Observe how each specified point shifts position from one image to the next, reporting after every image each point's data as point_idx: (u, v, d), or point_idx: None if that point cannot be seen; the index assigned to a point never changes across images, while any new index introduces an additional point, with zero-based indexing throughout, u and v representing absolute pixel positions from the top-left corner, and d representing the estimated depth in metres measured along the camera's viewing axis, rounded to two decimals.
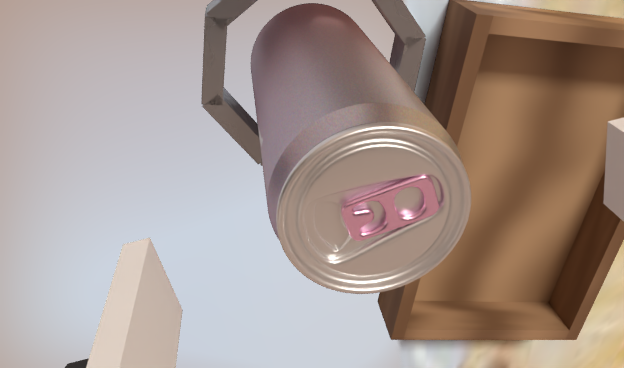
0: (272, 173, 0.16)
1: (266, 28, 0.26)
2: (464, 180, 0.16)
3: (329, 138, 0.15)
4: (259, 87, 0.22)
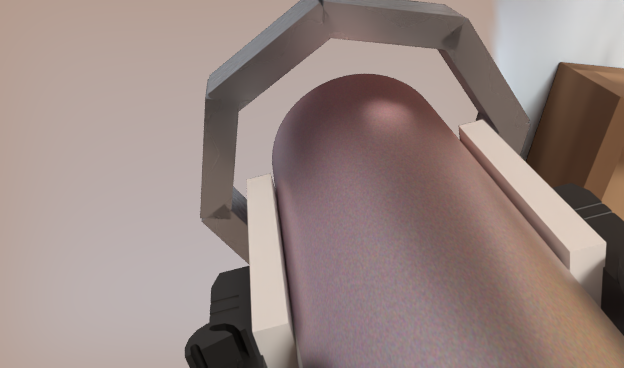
0: None
1: (297, 112, 0.18)
2: None
3: None
4: (291, 233, 0.14)
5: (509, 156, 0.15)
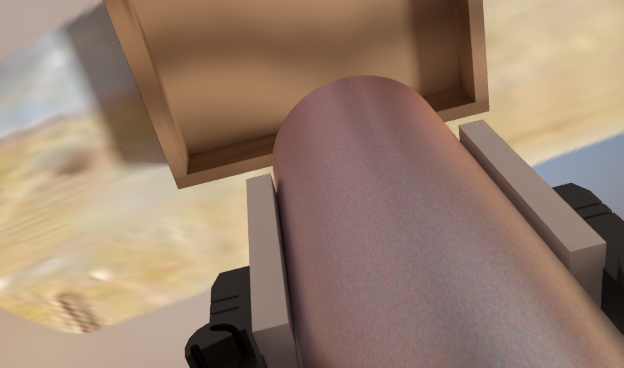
0: None
1: (297, 113, 0.18)
2: None
3: None
4: (292, 234, 0.14)
5: (509, 156, 0.15)
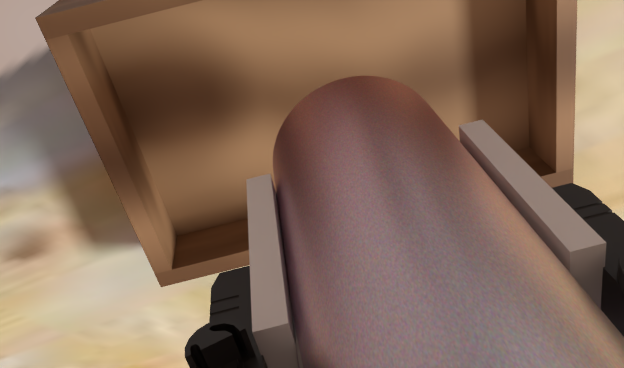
0: None
1: (297, 114, 0.18)
2: None
3: None
4: (292, 235, 0.14)
5: (509, 156, 0.15)
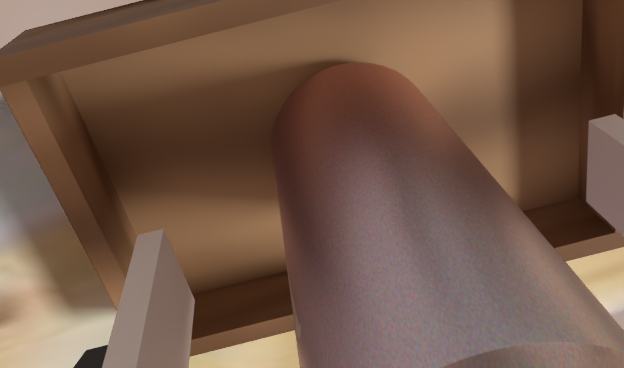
0: None
1: (294, 99, 0.19)
2: None
3: None
4: (289, 207, 0.15)
5: None
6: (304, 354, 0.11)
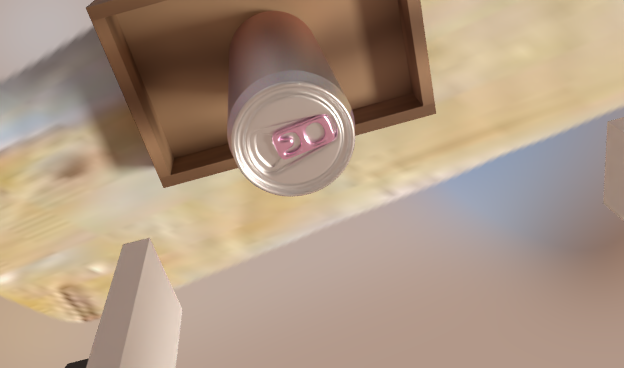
0: (229, 117, 0.25)
1: (238, 29, 0.36)
2: (348, 117, 0.25)
3: (260, 91, 0.24)
4: (230, 70, 0.32)
5: None
6: None
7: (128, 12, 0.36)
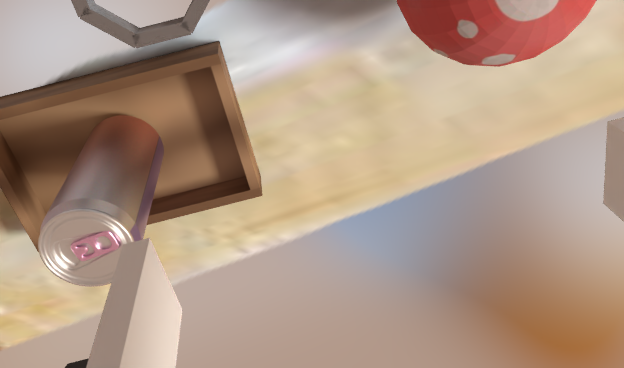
0: (40, 229, 0.34)
1: (92, 131, 0.44)
2: (125, 233, 0.34)
3: (55, 216, 0.33)
4: None
5: None
6: None
7: None
